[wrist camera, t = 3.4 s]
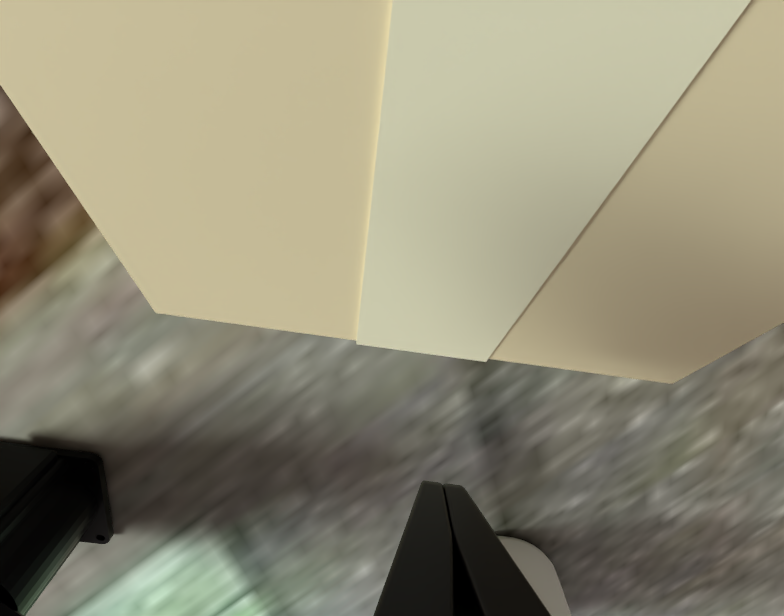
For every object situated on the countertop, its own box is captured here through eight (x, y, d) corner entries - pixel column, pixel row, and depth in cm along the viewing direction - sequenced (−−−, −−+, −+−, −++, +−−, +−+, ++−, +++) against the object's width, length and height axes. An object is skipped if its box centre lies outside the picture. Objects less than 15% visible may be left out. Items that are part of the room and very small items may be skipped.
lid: (668, 366, 14) (673, 387, 14) (163, 295, 14) (154, 316, 13) (1512, -149, 4) (1613, -121, 4) (-365, -568, 3) (-469, -581, 3)
